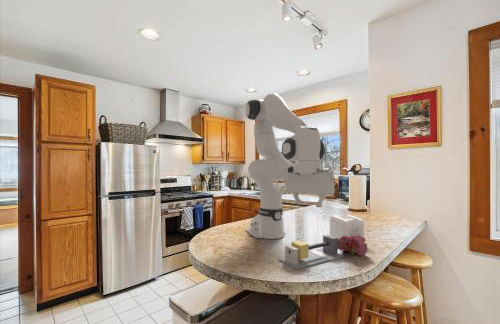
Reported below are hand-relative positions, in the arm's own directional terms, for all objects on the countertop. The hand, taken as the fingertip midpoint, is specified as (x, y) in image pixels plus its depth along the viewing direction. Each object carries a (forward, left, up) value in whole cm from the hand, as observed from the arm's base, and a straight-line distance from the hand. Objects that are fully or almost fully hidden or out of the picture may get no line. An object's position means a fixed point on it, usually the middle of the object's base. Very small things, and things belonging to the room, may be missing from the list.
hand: (308, 205), depth 91 cm
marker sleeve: (-2, -2, -19) cm, 19 cm away
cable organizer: (-10, +36, -21) cm, 43 cm away
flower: (+3, +22, -21) cm, 31 cm away
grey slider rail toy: (-2, +4, -21) cm, 22 cm away
